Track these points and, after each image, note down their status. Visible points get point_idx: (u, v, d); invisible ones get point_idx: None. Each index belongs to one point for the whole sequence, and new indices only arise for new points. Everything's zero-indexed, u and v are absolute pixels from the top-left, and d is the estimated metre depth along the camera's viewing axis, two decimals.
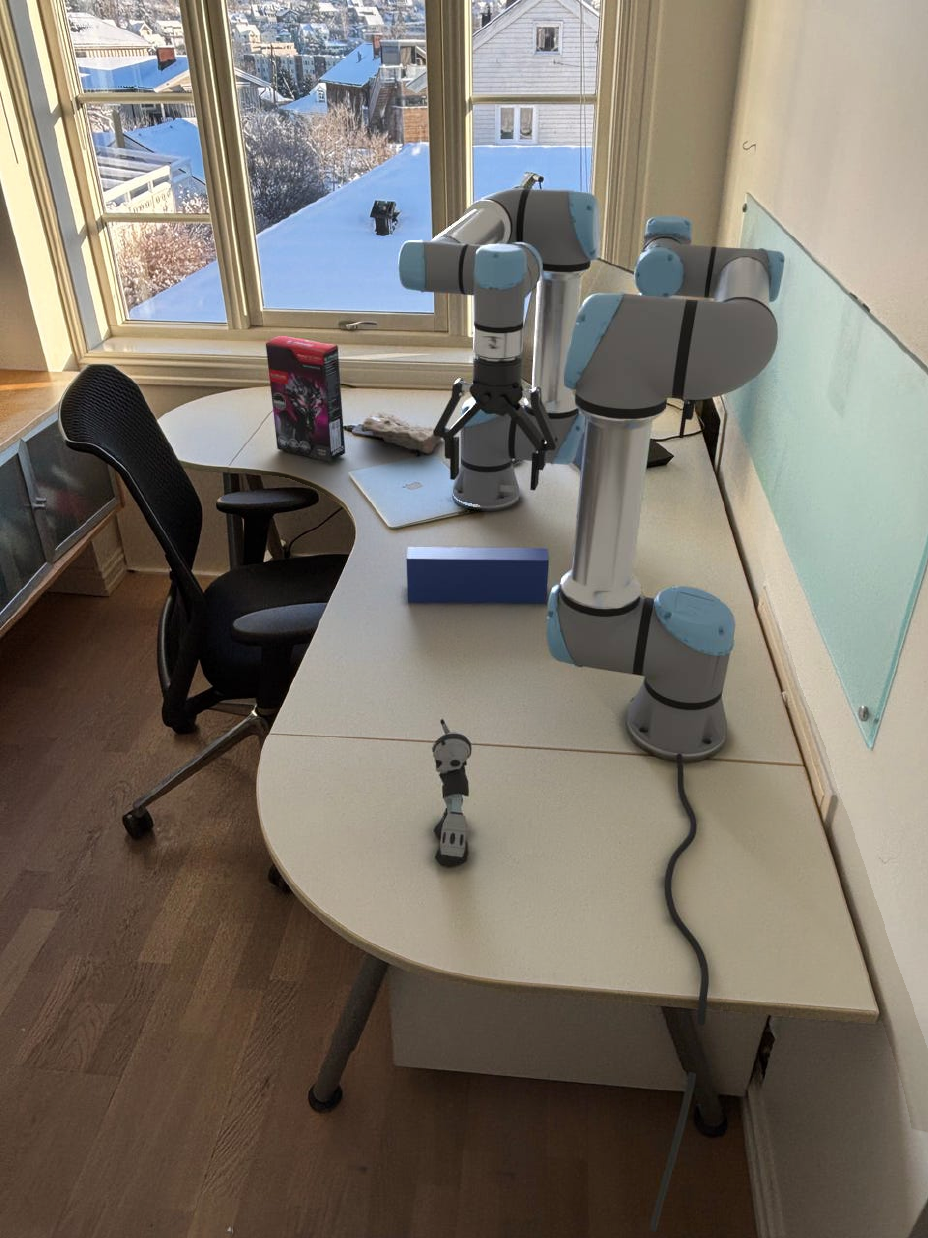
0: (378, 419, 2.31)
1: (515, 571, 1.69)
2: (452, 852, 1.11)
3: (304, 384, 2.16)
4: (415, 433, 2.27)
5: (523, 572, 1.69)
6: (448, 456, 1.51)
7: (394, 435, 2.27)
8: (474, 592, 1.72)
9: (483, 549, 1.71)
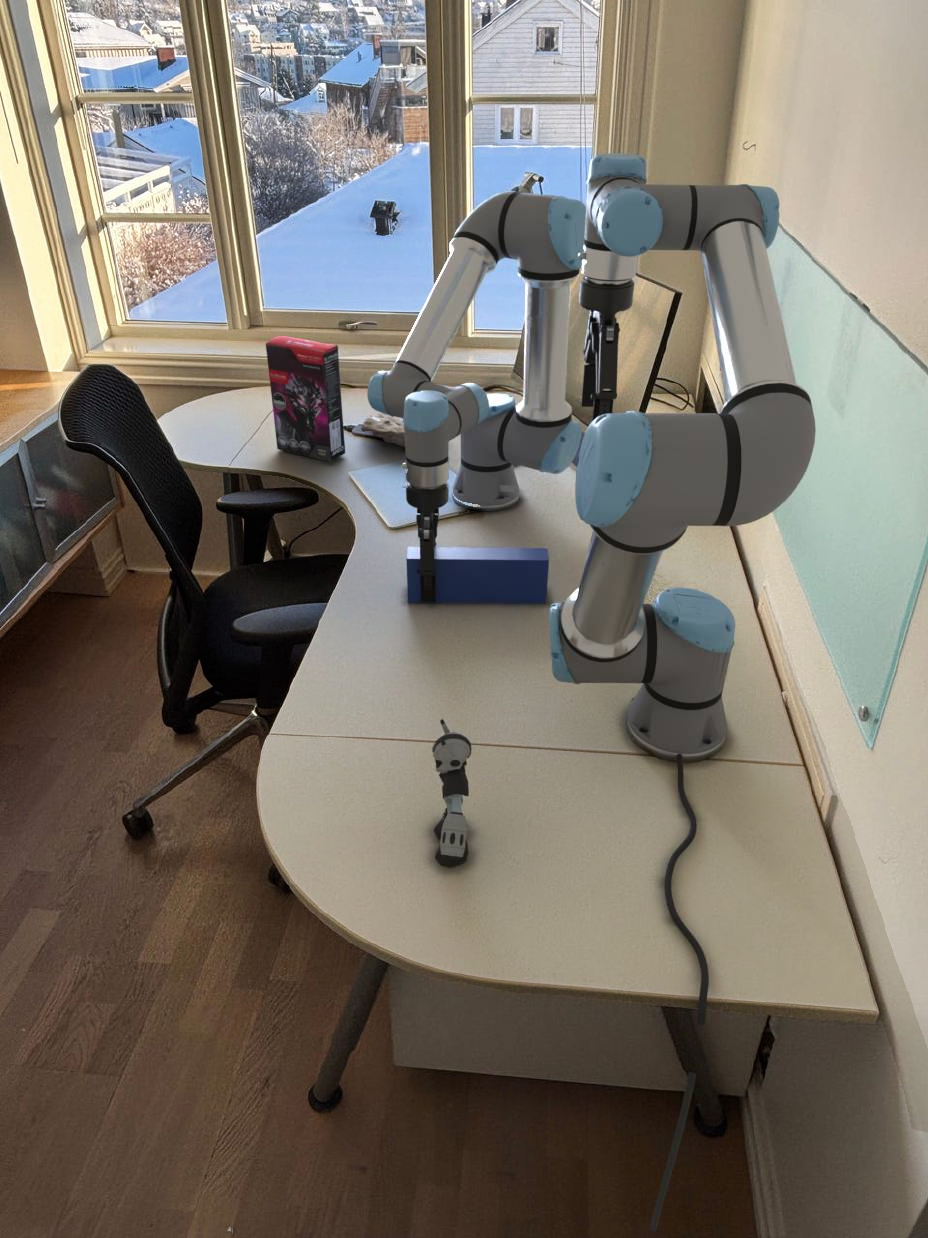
0: (378, 419, 2.31)
1: (515, 571, 1.69)
2: (452, 852, 1.11)
3: (304, 384, 2.16)
4: None
5: (523, 572, 1.69)
6: None
7: (394, 435, 2.27)
8: (474, 592, 1.72)
9: (483, 549, 1.71)
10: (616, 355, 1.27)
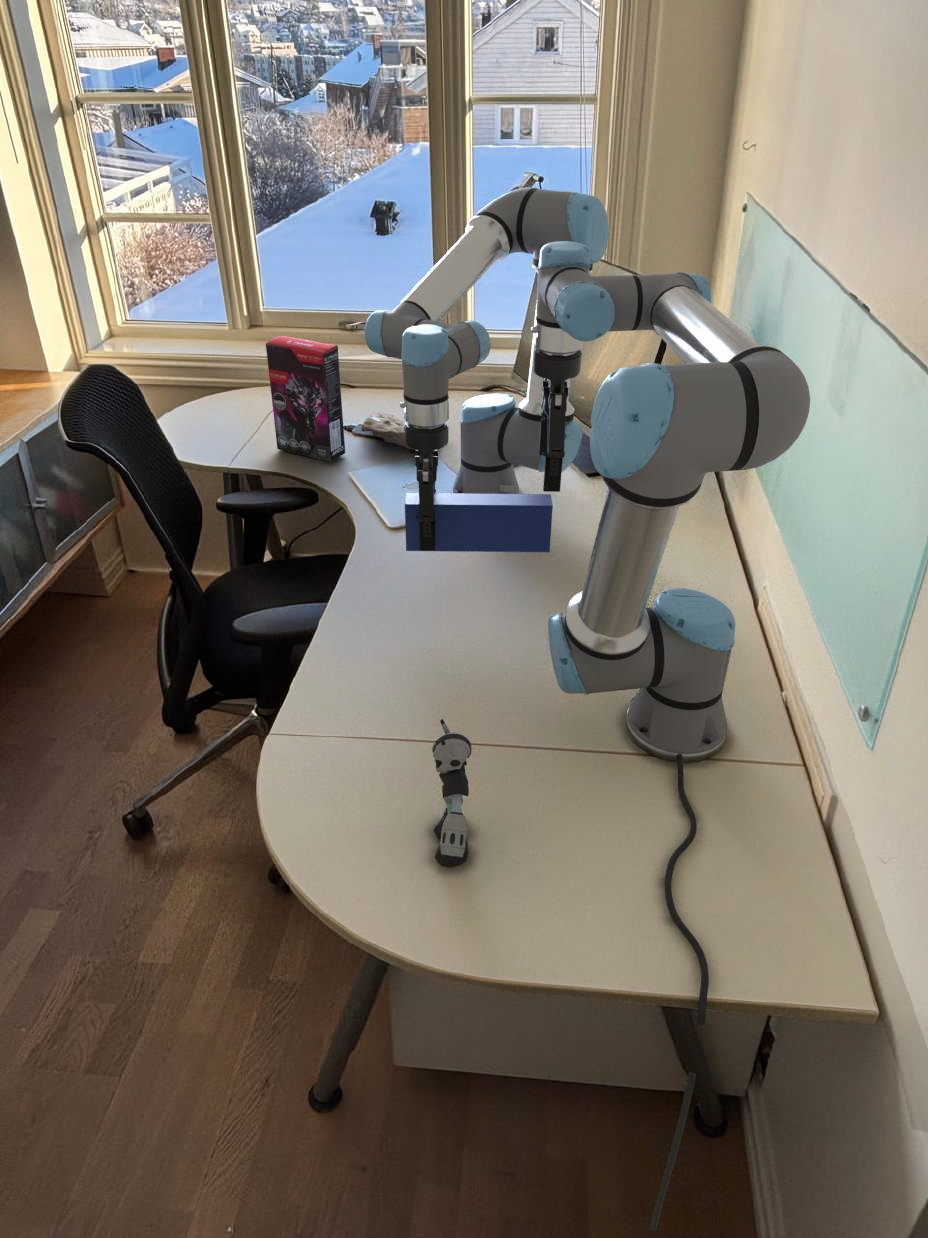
0: (378, 419, 2.31)
1: (518, 517, 1.63)
2: (452, 852, 1.11)
3: (304, 384, 2.16)
4: None
5: (525, 518, 1.63)
6: None
7: (394, 435, 2.27)
8: (475, 539, 1.66)
9: (484, 495, 1.65)
10: (564, 419, 1.42)
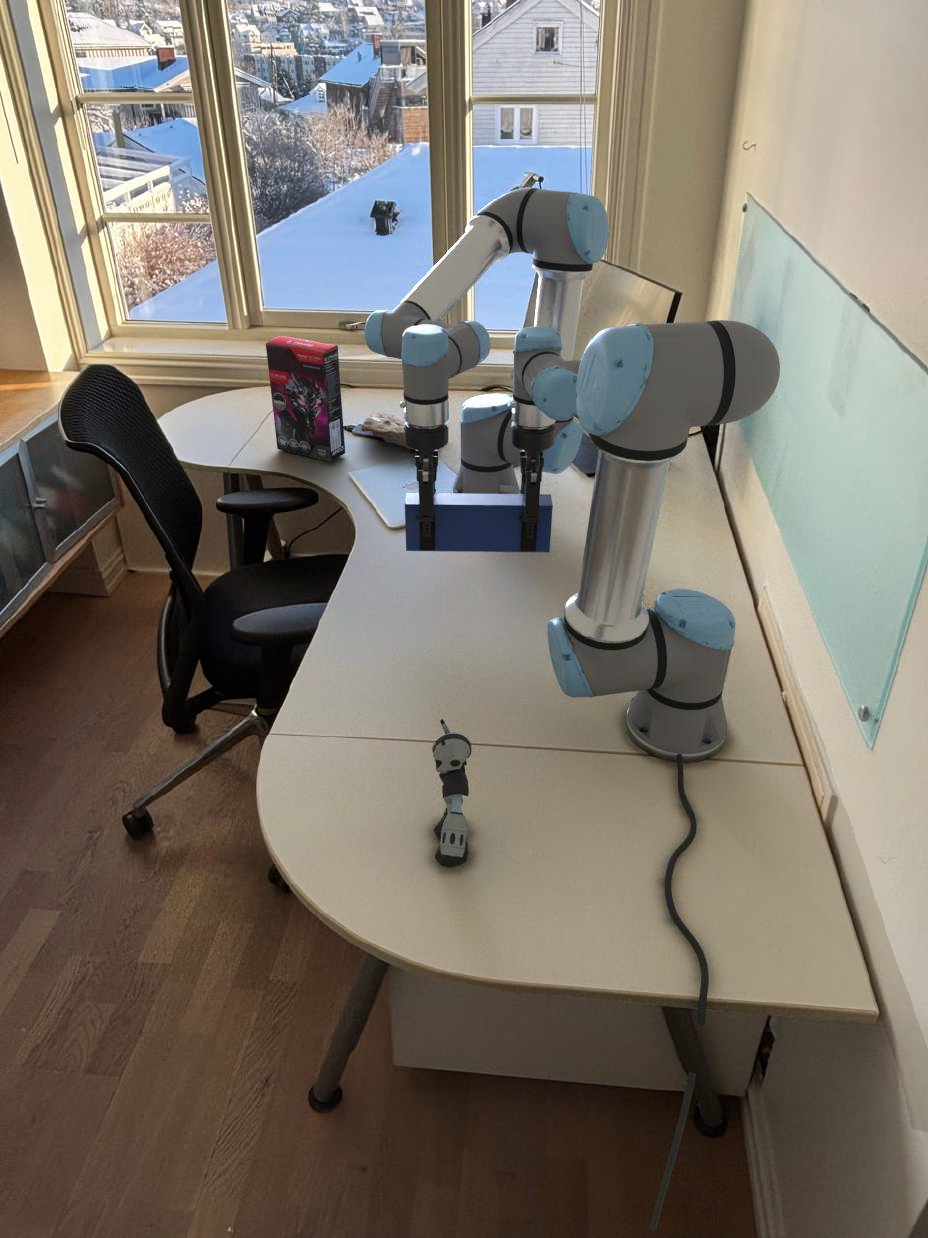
0: (378, 419, 2.31)
1: (518, 517, 1.63)
2: (452, 852, 1.11)
3: (304, 384, 2.16)
4: None
5: None
6: None
7: (394, 435, 2.27)
8: (475, 539, 1.66)
9: (484, 495, 1.65)
10: (538, 493, 1.56)
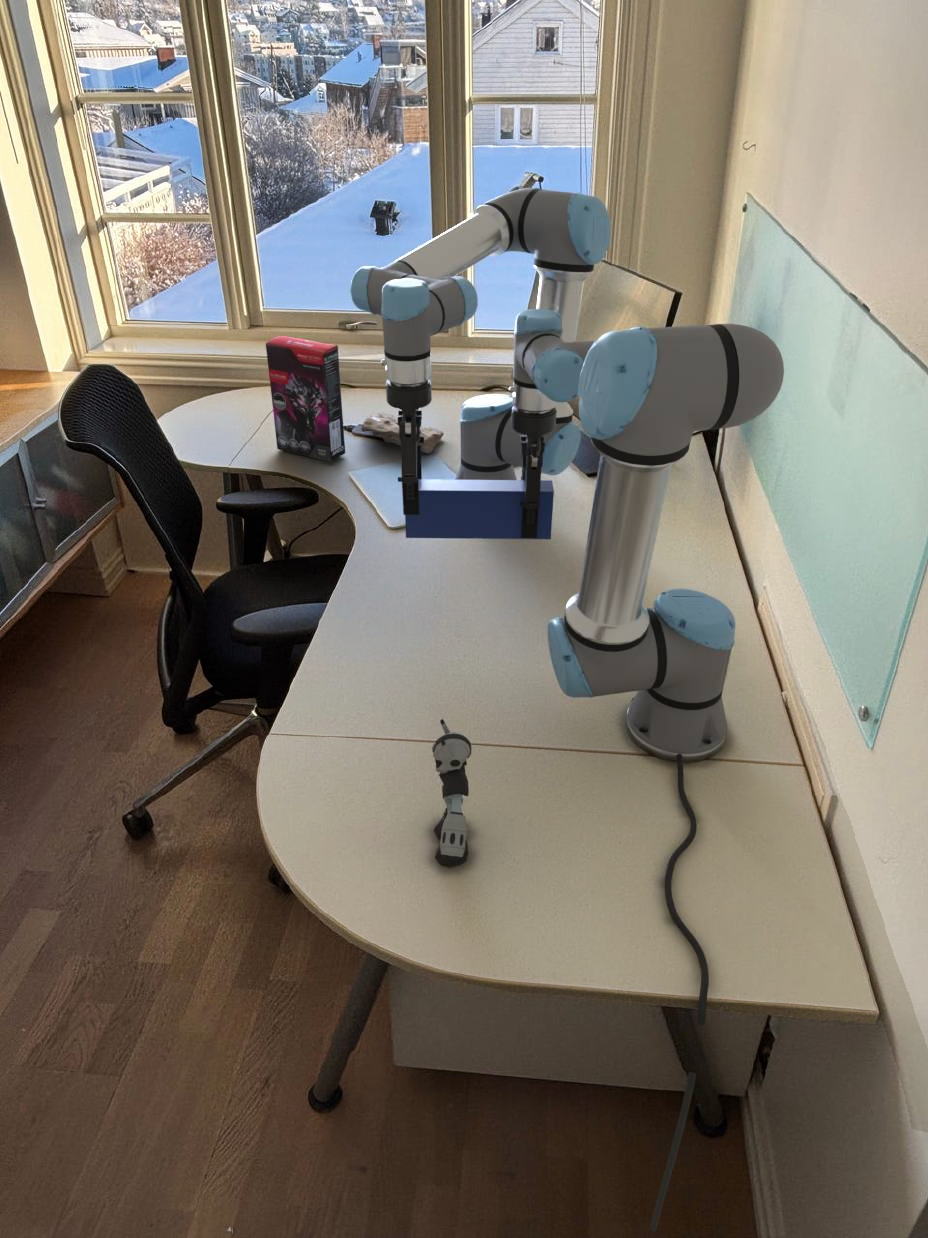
0: (378, 419, 2.31)
1: (519, 503, 1.61)
2: (452, 852, 1.11)
3: (304, 384, 2.16)
4: None
5: None
6: None
7: (394, 435, 2.27)
8: (476, 526, 1.64)
9: (485, 481, 1.63)
10: (539, 478, 1.55)
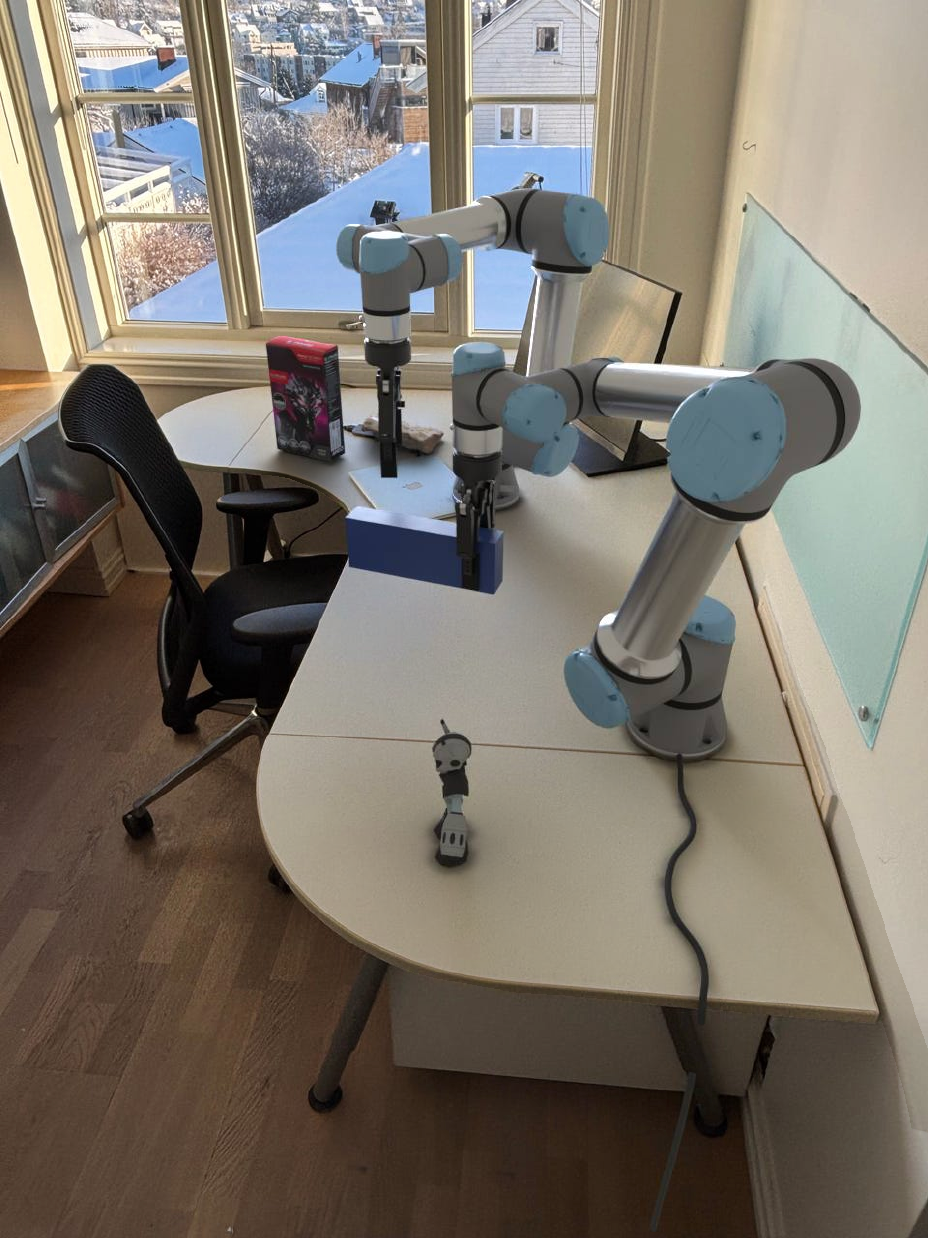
0: None
1: None
2: (452, 852, 1.11)
3: (304, 384, 2.16)
4: (415, 433, 2.27)
5: None
6: None
7: None
8: (417, 567, 1.52)
9: (433, 521, 1.51)
10: (470, 527, 1.40)
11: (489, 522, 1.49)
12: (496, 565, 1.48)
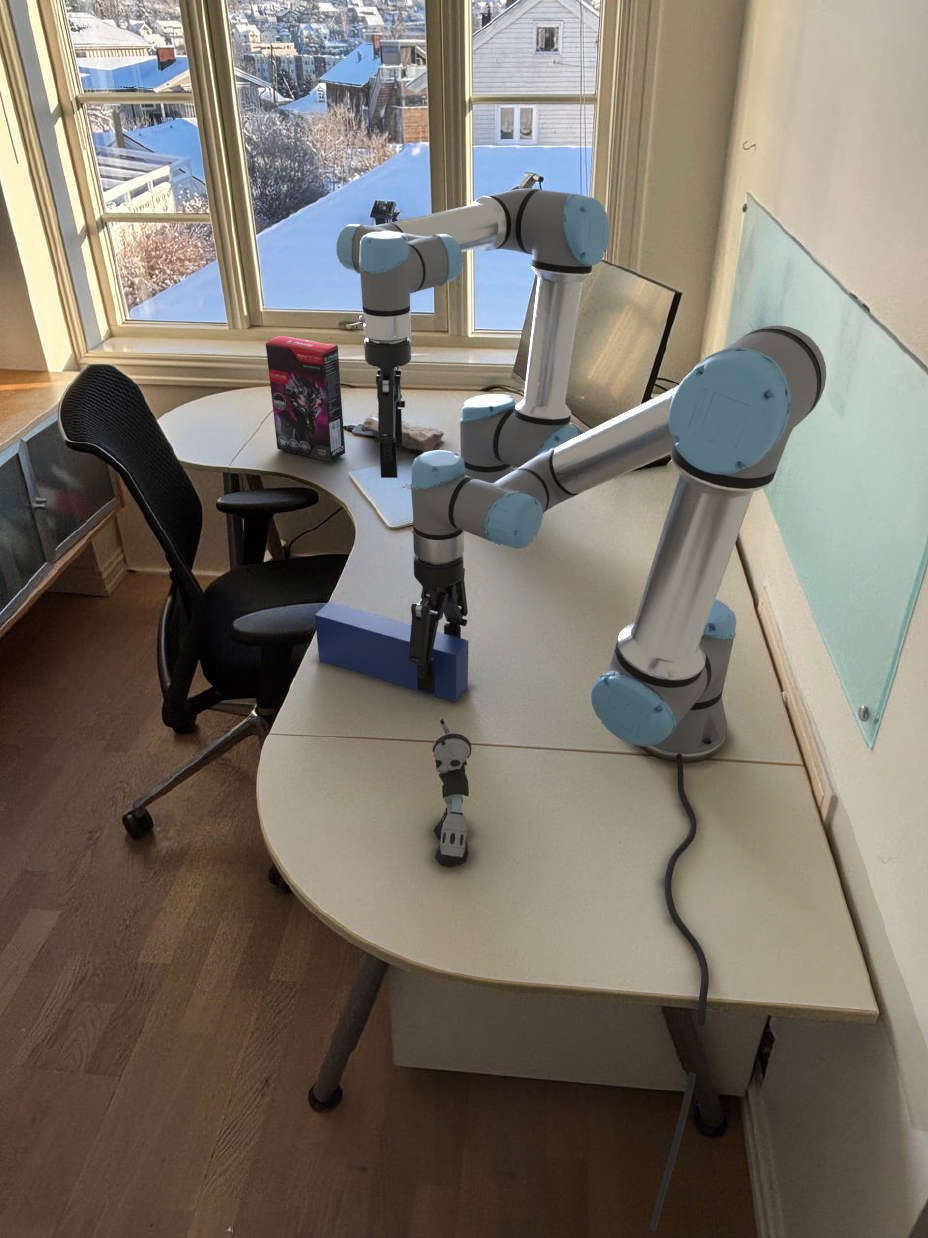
0: None
1: None
2: (452, 852, 1.11)
3: (304, 384, 2.16)
4: (415, 433, 2.27)
5: None
6: None
7: None
8: (382, 668, 1.52)
9: (400, 624, 1.50)
10: (424, 631, 1.37)
11: (458, 613, 1.48)
12: (458, 674, 1.46)
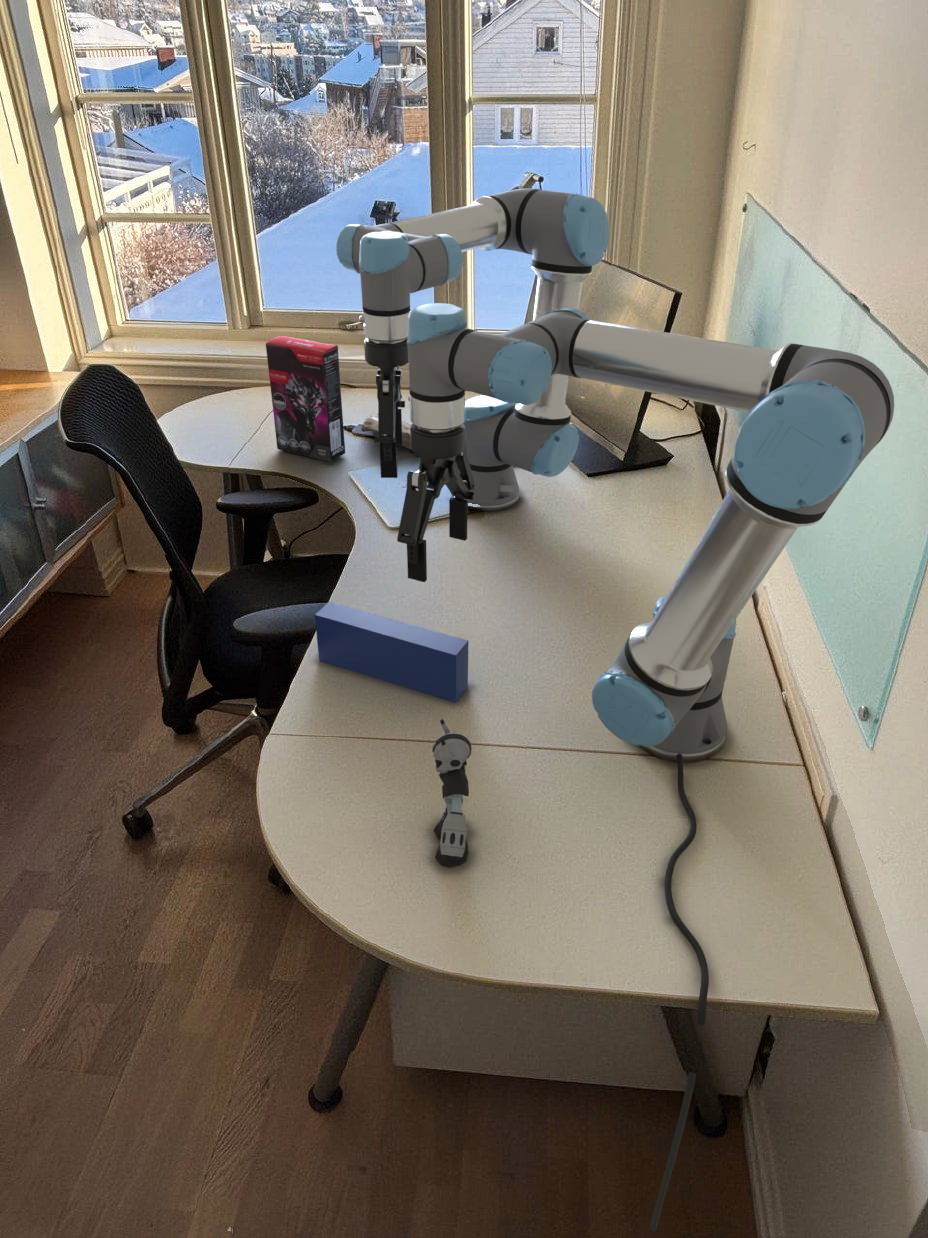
0: None
1: (422, 658, 1.47)
2: (452, 852, 1.11)
3: (304, 384, 2.16)
4: None
5: (429, 661, 1.46)
6: None
7: None
8: (382, 668, 1.52)
9: (400, 624, 1.50)
10: (419, 503, 1.24)
11: (464, 487, 1.37)
12: (458, 674, 1.46)
